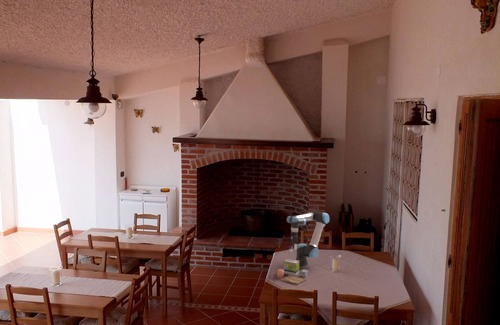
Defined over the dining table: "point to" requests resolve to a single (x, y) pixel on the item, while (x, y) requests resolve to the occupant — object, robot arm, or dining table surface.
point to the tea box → (291, 267)
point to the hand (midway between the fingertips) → (293, 250)
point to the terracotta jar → (280, 273)
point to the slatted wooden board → (293, 279)
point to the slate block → (304, 273)
